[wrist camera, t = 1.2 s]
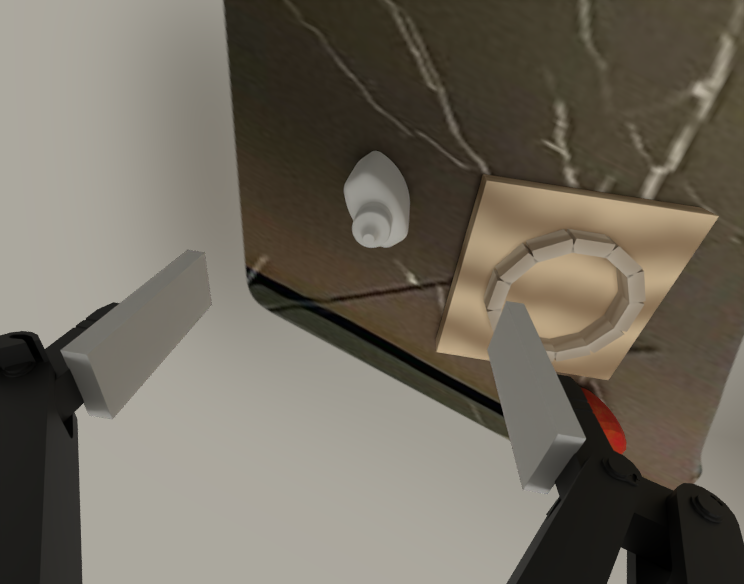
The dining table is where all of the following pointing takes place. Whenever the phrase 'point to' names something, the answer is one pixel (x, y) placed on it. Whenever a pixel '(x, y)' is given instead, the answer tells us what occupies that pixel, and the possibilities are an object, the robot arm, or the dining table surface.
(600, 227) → the socket stand
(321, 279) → the dining table surface
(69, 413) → the robot arm
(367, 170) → the eye dropper bottle
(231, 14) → the dining table surface
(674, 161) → the dining table surface
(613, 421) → the apple
